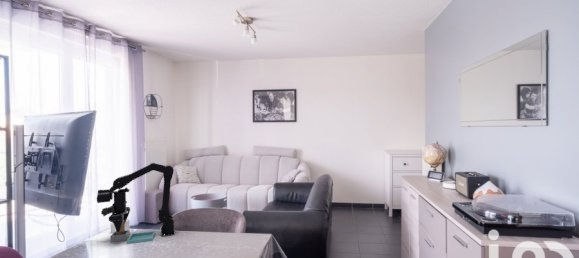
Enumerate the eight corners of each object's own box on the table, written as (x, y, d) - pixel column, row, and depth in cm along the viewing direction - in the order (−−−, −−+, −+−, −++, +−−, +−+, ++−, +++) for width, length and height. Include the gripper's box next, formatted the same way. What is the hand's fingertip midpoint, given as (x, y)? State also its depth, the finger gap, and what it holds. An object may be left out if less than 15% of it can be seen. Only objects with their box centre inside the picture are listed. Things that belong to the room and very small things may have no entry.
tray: (155, 235, 164) (155, 231, 164) (151, 242, 153) (151, 238, 153) (132, 238, 161) (131, 233, 161) (126, 246, 149) (126, 241, 149)
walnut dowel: (125, 237, 159) (125, 219, 159) (123, 240, 155) (123, 221, 155) (117, 238, 158) (117, 220, 158) (115, 241, 154) (115, 222, 154)
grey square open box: (129, 238, 161) (129, 230, 161) (126, 242, 154) (126, 234, 154) (114, 239, 159) (114, 231, 159) (110, 244, 152) (110, 236, 152)
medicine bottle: (129, 231, 174) (129, 211, 174) (121, 235, 166) (121, 214, 167) (118, 230, 174) (118, 211, 175) (110, 235, 167) (110, 214, 167)
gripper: (108, 198, 163) (108, 226, 163) (97, 206, 145) (97, 236, 145) (130, 196, 167) (130, 223, 166) (121, 203, 149) (122, 234, 148)
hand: (120, 229), depth 156 cm, fingers open, 9 cm apart
